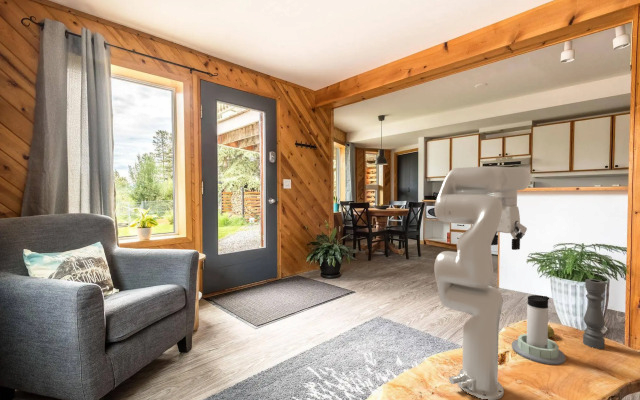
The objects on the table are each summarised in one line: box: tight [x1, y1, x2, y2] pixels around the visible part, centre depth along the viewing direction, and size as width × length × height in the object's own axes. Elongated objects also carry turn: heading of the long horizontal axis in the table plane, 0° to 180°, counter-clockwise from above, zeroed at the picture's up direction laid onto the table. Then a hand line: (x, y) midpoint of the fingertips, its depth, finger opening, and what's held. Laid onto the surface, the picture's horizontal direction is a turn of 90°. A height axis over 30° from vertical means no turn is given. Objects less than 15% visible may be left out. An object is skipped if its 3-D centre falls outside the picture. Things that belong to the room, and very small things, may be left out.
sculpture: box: [548, 325, 555, 339], centre depth 126 cm, size 8×4×8 cm
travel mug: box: [526, 294, 550, 349], centre depth 112 cm, size 6×7×20 cm
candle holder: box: [582, 278, 606, 350], centre depth 117 cm, size 6×6×25 cm
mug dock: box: [511, 333, 566, 366], centre depth 112 cm, size 16×16×4 cm
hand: (504, 247), depth 117 cm, fingers open, 9 cm apart
